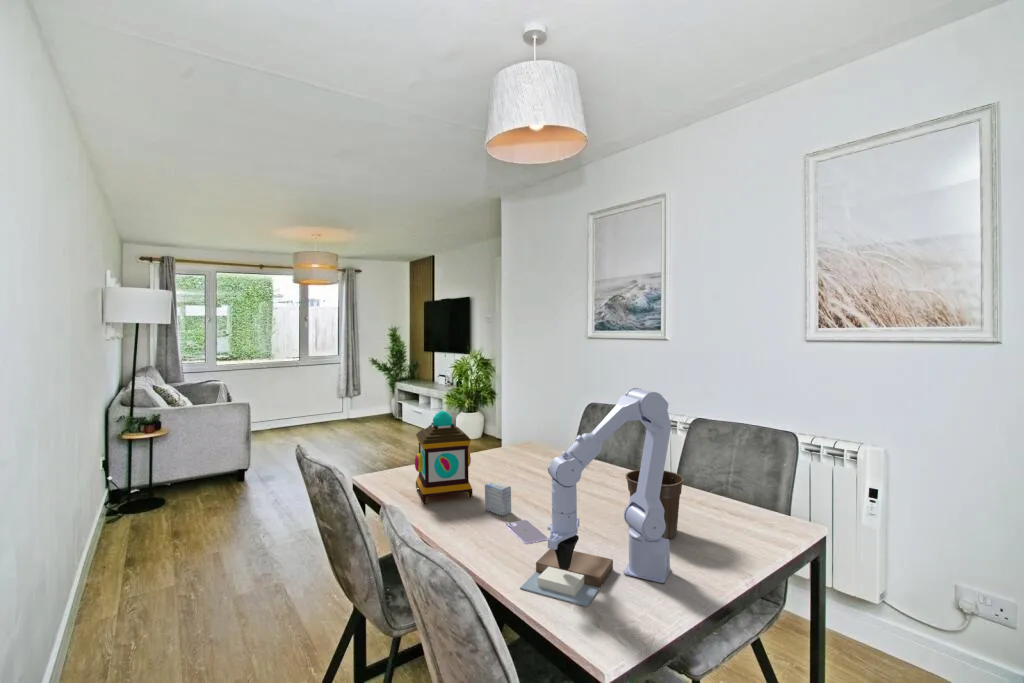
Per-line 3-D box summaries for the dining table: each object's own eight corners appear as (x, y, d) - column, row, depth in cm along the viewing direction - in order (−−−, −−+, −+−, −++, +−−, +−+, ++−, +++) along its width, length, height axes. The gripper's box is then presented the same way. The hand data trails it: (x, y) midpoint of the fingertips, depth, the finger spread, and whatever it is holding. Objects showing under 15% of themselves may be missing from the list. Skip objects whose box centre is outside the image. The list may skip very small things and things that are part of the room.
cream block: (584, 583, 114) (584, 575, 114) (574, 596, 109) (574, 587, 109) (548, 574, 118) (548, 566, 118) (537, 586, 113) (537, 577, 113)
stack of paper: (511, 512, 159) (511, 486, 159) (502, 516, 156) (501, 489, 156) (494, 507, 164) (494, 481, 164) (484, 510, 161) (484, 484, 161)
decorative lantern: (464, 483, 190) (463, 405, 189) (477, 499, 171) (476, 413, 171) (411, 488, 184) (410, 408, 183) (419, 506, 165) (417, 417, 164)
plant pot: (614, 526, 148) (614, 472, 148) (657, 517, 154) (657, 466, 154) (649, 548, 133) (649, 488, 133) (696, 537, 139) (696, 480, 139)
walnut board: (612, 569, 121) (612, 559, 121) (599, 588, 112) (599, 577, 112) (552, 555, 129) (552, 546, 129) (536, 572, 120) (536, 562, 120)
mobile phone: (524, 542, 136) (503, 522, 149) (524, 545, 136) (503, 525, 150) (549, 537, 139) (526, 518, 152) (549, 540, 139) (526, 521, 152)
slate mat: (599, 589, 112) (599, 587, 112) (587, 607, 105) (587, 605, 105) (535, 573, 120) (535, 571, 120) (520, 588, 113) (520, 587, 113)
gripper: (560, 497, 123) (560, 551, 123) (535, 517, 110) (535, 577, 110) (587, 501, 119) (587, 557, 120) (564, 523, 107) (564, 585, 107)
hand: (564, 567), depth 115 cm, fingers closed
